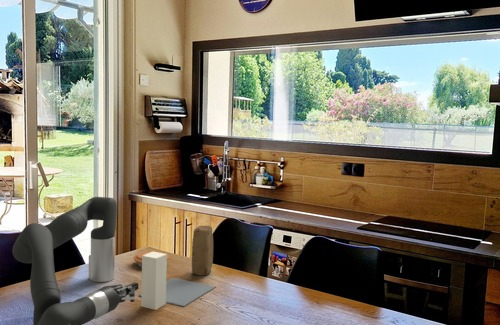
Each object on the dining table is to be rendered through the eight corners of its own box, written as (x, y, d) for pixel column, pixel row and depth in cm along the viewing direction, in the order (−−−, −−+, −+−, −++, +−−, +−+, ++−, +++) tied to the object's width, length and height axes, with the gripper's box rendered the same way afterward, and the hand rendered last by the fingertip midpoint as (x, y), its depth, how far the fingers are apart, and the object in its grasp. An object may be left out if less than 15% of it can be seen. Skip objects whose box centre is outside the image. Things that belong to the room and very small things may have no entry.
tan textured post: (206, 277, 191) (208, 230, 189) (189, 275, 192) (190, 228, 191) (214, 269, 201) (215, 224, 199) (198, 267, 203) (199, 223, 201)
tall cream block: (141, 306, 159) (142, 255, 157) (152, 300, 164) (153, 251, 162) (155, 309, 156) (156, 258, 154) (165, 303, 161) (166, 254, 160)
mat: (138, 295, 168) (138, 294, 168) (173, 278, 188) (173, 277, 188) (184, 306, 159) (184, 305, 159) (215, 287, 179) (215, 286, 179)
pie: (175, 265, 205) (175, 254, 205) (146, 272, 194) (146, 261, 193) (155, 257, 216) (155, 247, 215) (126, 264, 204) (126, 253, 204)
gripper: (115, 295, 132) (153, 277, 148) (81, 286, 138) (121, 271, 153) (115, 320, 133) (152, 300, 148) (81, 310, 138) (120, 292, 154)
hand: (136, 285), depth 151 cm, fingers closed
